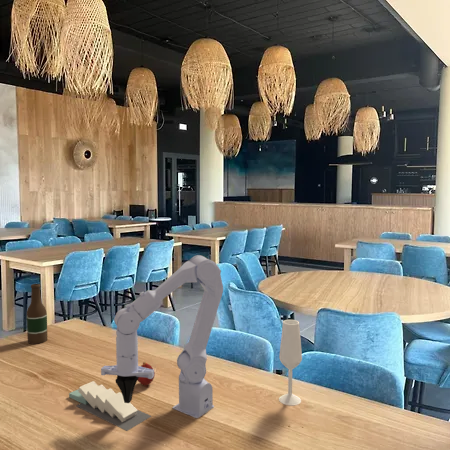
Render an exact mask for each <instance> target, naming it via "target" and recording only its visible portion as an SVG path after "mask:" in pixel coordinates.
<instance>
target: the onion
mask: <svg viewBox="0 0 450 450" xmlns="http://www.w3.org/2000/svg"><path fill="white" fill-rule="evenodd" d="M140 366H141V367H144V368H148V369H154V368H153V367H152V366H151V365H150V364H149V363H147V362H146V361H143V362H142V365H140ZM155 373H156V372H155V371H154V377H153V378H152V379H148V378H146V377H139V378H138V380H137V382H138V383H139V384H141V385H142V386H144V387H146V386H149V385H150V384H151V383H152V382H153V381H154V379H155V375H156V374H155Z"/></svg>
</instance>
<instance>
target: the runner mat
mask: <svg viewBox="0 0 450 450" xmlns="http://www.w3.org/2000/svg"><path fill="white" fill-rule="evenodd" d="M75 407H77V408H79V409H81V410H83V411H85V412H87V413H89V414H91V415H93V416H95V417H98V418H100V419H102V420H104V421H106V422H108V423H109V424H112V425H114V426H116V427H118V428H120V429H122V430H124V431H126V432H128V431H130V430H131V429H133V428H135V427H136V426H138V425H140V424H142V423H143V422H145V421H146V420H148V419H150V418H152V415H150V414H148V413H146V412H143V411H141V410H139V409H137V410H138V411H137V414H136V415H135V416H133V417H131V418H129V419H127V420H126V421H124V422H121V421H120V419H119V418H118V417H117V416H115V417H113V418H112V417H111V416H110V415H109V413H108V412H105V413H102V412H101V410H100V409H99V408H98V407H97V408H95V409H94V408H93V407H92V406H91V405H90V404H89V403H88V404H86V405H85V404H83V403H79V404H76V406H75Z"/></svg>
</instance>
